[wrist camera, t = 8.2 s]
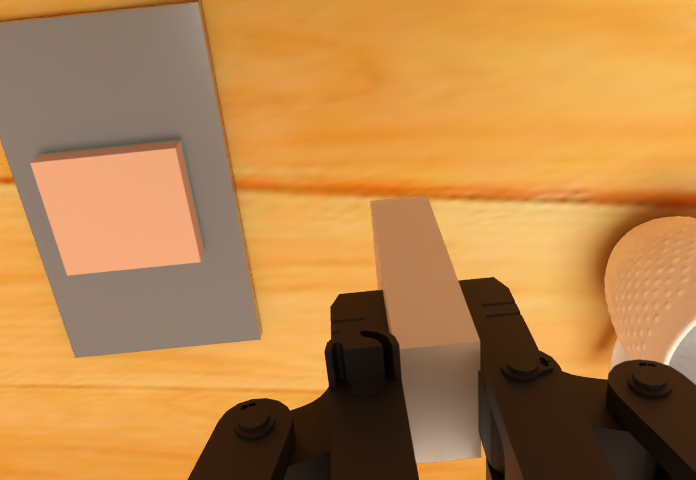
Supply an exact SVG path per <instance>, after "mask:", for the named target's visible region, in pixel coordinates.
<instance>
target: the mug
mask: <svg viewBox="0 0 696 480" xmlns="http://www.w3.org/2000/svg"><path fill="white" fill-rule="evenodd" d="M604 283H605V289H604V291H605V294H606V302H607V305H608V312H609V314H610V316H611V322H612V324H613V326H614V328H615V333H616V335H617V336H618V338H617V340H616V342H615V344H614V348H613V351H612V354H611V359H610V364H609V372H610V371H611V370H612V368H613V367H614V366H615V365H618V364H620V363H622V362H624V361H629V360H637V359H641V360H650V361H656V362H659V363H662V364H665V365H668V366H671V367H672V368H674V369H676V370H677V371H679V372H680V373H682V374H683V375H685V376H686V377H687V378H688V379H689V380H691V381H692V382H693V383H694V384H695V385H696V218H693V217H681V216H675V217H663V218H658V219H653V220H650V221H647V222H645V223H642V224H640V225H638V226H636V227H635V228H633V229H632V230H630V231H629V232H627V233H626V234H625V235H624V236H623V237H622V238H621V239H620V240H619V241H618V243H617V244H616V245H615V247H614V249H613V250H612V252H611V255H610V257H609V260H608V263H607V267H606V273H605V278H604Z"/></svg>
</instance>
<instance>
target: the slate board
mask: <svg viewBox="0 0 696 480" xmlns="http://www.w3.org/2000/svg"><path fill="white" fill-rule="evenodd" d="M177 138H182V142H183V147H184V151H185V156H186V161H187V165H188V170H189V174H190V179H191V184H192V188H193V193H194V198H195V202H196V207H197V211H198V216H199V221H200V225H201V230H202V235H203V239H204V244H205V251H204V254H203V257H202V260H201V262H198V263H188V264H178V265H168V266H158V267H148V268H138V269H128V270H118V271H108V272H98V273H88V274H78V275H68V276H67V273H66V270H65V267H64V264H63V261H62V258H61V255H60V252H59V249H58V246H57V243H56V240H55V237H54V234H53V231H52V228H51V225H50V222H49V219H48V216H47V213H46V210H45V207H44V204H43V200H42V197H41V194H40V191H39V188H38V185H37V182H36V179H35V176H34V173H33V170H32V167H31V164H30V163H31V162H32V161H33V160H34V159H35V158H37V157H38V156H39V155H40V154H41V153H42V152H51V151H60V150H70V149H80V148H90V147H99V146H109V145H119V144H129V143H138V142H148V141H158V140H168V139H177ZM0 140H1V143H2V146H3V149H4V152H5V155H6V158H7V161H8V164H9V166H10V169H11V172H12V175H13V178H14V181H15V184H16V187H17V190H18V193H19V195H20V198H21V201H22V204H23V207H24V210H25V213H26V216H27V219H28V222H29V224H30V227H31V230H32V233H33V236H34V239H35V242H36V245H37V248H38V251H39V254H40V256H41V259H42V262H43V265H44V268H45V271H46V274H47V277H48V280H49V283H50V285H51V288H52V291H53V294H54V297H55V300H56V303H57V306H58V309H59V312H60V315H61V317H62V320H63V323H64V326H65V329H66V332H67V335H68V338H69V341H70V344H71V346H72V349H73V352H74V355H75V358H78V357H88V356H98V355H108V354H119V353H129V352H139V351H149V350H159V349H169V348H179V347H189V346H199V345H209V344H219V343H229V342H239V341H250V340H260V339H261V335H262V329H261V324H260V319H259V313H258V308H257V302H256V297H255V291H254V286H253V281H252V275H251V270H250V264H249V259H248V254H247V248H246V243H245V237H244V232H243V226H242V221H241V216H240V210H239V205H238V199H237V194H236V189H235V183H234V178H233V172H232V167H231V161H230V156H229V151H228V145H227V140H226V134H225V129H224V124H223V118H222V113H221V107H220V102H219V96H218V91H217V86H216V80H215V75H214V69H213V64H212V58H211V53H210V48H209V42H208V37H207V31H206V26H205V21H204V15H203V10H202V4H201V1H191V2H182V3H172V4H163V5H153V6H144V7H134V8H124V9H115V10H105V11H96V12H86V13H77V14H67V15H58V16H48V17H39V18H29V19H20V20H10V21H1V22H0Z"/></svg>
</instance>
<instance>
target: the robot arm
mask: <svg viewBox="0 0 696 480" xmlns="http://www.w3.org/2000/svg"><path fill="white" fill-rule="evenodd" d="M370 205H371V216H372V228H373V239H374V251H375V262H376V274H377V285H378V290H376V291H366V292H356V293H346V294H339V295H338V297H337V298H336V300H335V301H334V303H333V304H332V306H331V307H330V308H331V340H330V341H329V342H328V343H327V345H326V348H325V359H326V366H327V374H328V381H329V387H328V389H327V390H326V391H325V393H324V394H323V395H322V396H321V397H319V398H318V399H316V400H315V401H313V402H311V403H309V404H307V405H305V406H302V407H299V408H297V409H294V410H291V411H290V410H289V408H288V407H287V406H285V405H284V404H282V403H281V402H279V401H277V400H272V399H267V398H262V399H251V400H248V401H245V402H242V403H239V404H237V405H236V406H234V407H233V408H231V409H230V410H228V411H226V413H225V414H224V415H223V416H222V418H221V419H220V420H219V421H218V423H217V425H216V427H215V429H214V431H213V433H212V435H211V437H210V438H209V440H208V442H207V444H206V446H205V448H204V450H203V452H202V454H201V455H200V457H199V459H198V461H197V463H196V465H195V467H194V469H193V471H192V472H191V474H190V476H189V478H188V480H419V477H418V471H417V465H416V464H417V463H427V462H438V461H448V460H458V459H469V458H479V457H481V441H482V444H483V448H484V451H485V454H486V480H696V385H695V384H694V383H693V382H692V381H691V380H689V379H688V378H687V377H686V376H685V375H683V374H682V373H680V372H679V371H677V370H676V369H674V368H672V367H671V366H668V365H665V364H662V363H659V362H656V361H650V360H641V359H637V360H629V361H624V362H622V363H620V364H618V365H615V366H614V367H613V368H612V370H611V371H610V372H609V374H608V380H605V379H596V378H588V377H581V376H576V375H571V374H569V373H566V372H563V371H562V370H561V368H560V366H559V365H558V364H557V362H556V361H555V360H554V359H553V358H552V357H551V356H549V355H547V354H545V353H543V352H542V351H539V349H538V347H537V345H536V343H535V341H534V339H533V337H532V335H531V333H530V331H529V329H528V327H527V325H526V323H525V321H524V319H523V317H522V315H520V311H519V309H518V307H517V305H516V304H515V300H514V298H513V296H512V294H511V292H510V290H509V288H508V287H506V286H505V285H504V284H502V283H501V282H499V281H498V280H497V279H495V278H494V277H490V278H480V279H470V280H460V281H458V279H457V276H456V274H455V271H454V268H453V265H452V263H451V260H450V257H449V254H448V252H447V249H446V246H445V243H444V241H443V238H442V235H441V233H440V230H439V227H438V224H437V222H436V219H435V216H434V213H433V211H432V208H431V205H430V202H429V200H428V197H427V195H426V196H416V197H406V198H396V199H386V200H376V201H370Z"/></svg>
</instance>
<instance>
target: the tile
mask: <svg viewBox="0 0 696 480" xmlns="http://www.w3.org/2000/svg"><path fill="white" fill-rule="evenodd" d="M30 164H31V167H32V170H33V173H34V176H35V179H36V182H37V185H38V188H39V191H40V194H41V197H42V200H43V204H44V207H45V210H46V213H47V216H48V219H49V222H50V225H51V228H52V231H53V234H54V237H55V240H56V243H57V246H58V249H59V252H60V255H61V258H62V261H63V264H64V267H65V270H66V273H67V276H68V275H78V274H88V273H98V272H108V271H118V270H128V269H138V268H148V267H158V266H168V265H178V264H188V263H198V262H201V260H202V257H203V254H204V251H205V244H204V239H203V235H202V230H201V225H200V221H199V216H198V211H197V207H196V202H195V198H194V193H193V188H192V184H191V179H190V174H189V170H188V165H187V161H186V156H185V151H184V147H183V142H182V138H177V139H168V140H158V141H148V142H138V143H129V144H119V145H109V146H99V147H90V148H80V149H70V150H60V151H51V152H42V153H41V154H40V155H39V156H38V157H37V158H35V159H34V160H33V161H32V162H31V163H30Z"/></svg>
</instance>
